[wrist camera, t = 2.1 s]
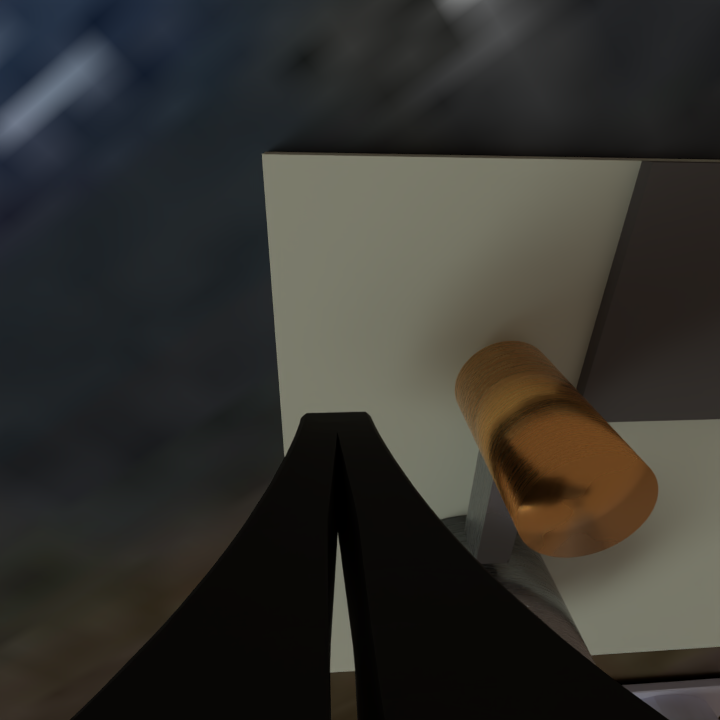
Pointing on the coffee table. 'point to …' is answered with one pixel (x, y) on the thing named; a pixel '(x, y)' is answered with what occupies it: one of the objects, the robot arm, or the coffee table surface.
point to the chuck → (530, 585)
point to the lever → (544, 461)
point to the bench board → (471, 334)
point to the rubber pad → (661, 302)
